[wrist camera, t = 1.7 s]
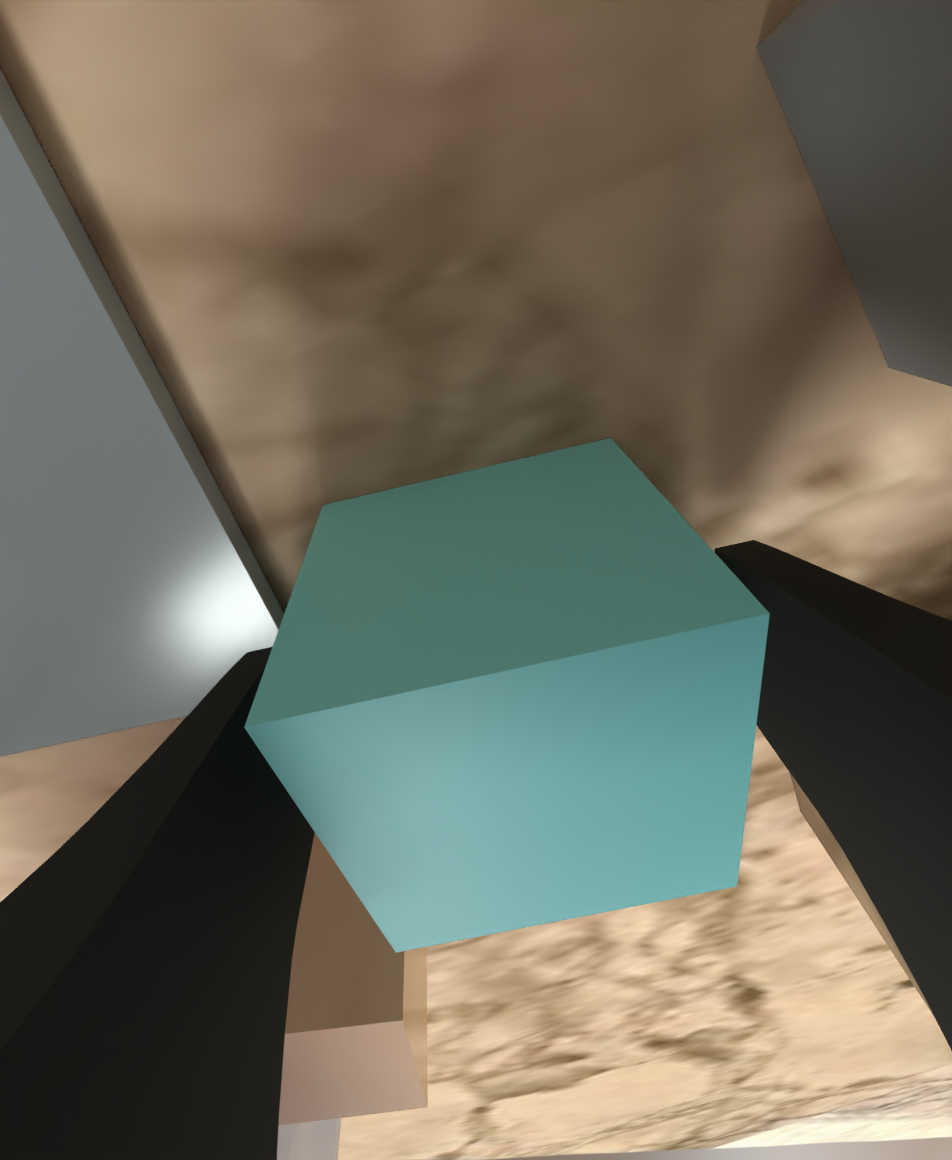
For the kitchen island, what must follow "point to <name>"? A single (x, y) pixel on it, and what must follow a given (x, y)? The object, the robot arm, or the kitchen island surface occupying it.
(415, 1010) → the terracotta block
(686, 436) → the kitchen island surface
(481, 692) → the teal block
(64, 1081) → the robot arm
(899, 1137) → the kitchen island surface
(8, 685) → the slate coaster
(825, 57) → the charcoal block
